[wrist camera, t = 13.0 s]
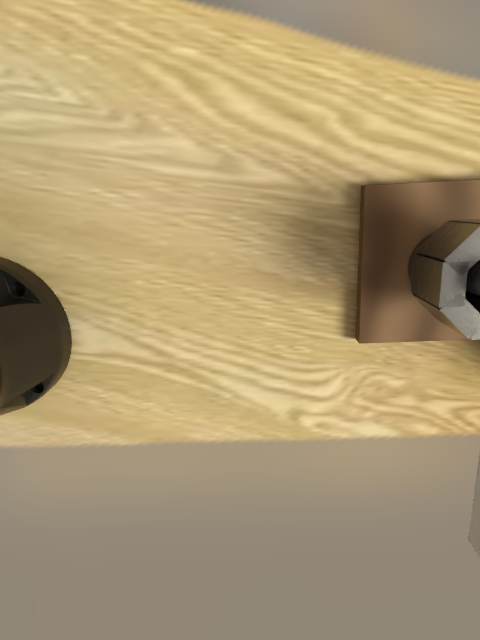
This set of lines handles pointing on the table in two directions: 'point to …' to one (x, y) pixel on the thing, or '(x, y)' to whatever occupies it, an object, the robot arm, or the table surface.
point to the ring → (449, 275)
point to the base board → (403, 255)
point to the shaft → (476, 277)
